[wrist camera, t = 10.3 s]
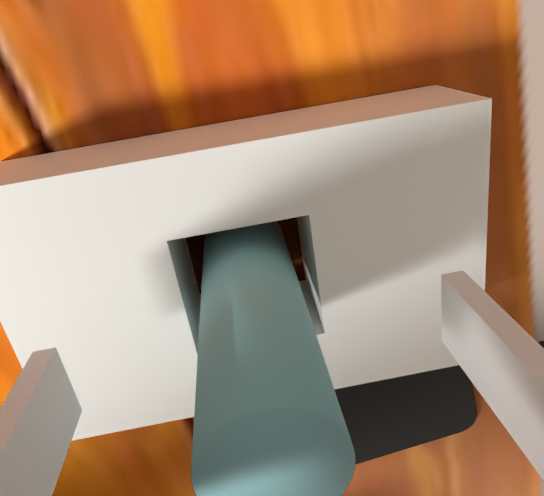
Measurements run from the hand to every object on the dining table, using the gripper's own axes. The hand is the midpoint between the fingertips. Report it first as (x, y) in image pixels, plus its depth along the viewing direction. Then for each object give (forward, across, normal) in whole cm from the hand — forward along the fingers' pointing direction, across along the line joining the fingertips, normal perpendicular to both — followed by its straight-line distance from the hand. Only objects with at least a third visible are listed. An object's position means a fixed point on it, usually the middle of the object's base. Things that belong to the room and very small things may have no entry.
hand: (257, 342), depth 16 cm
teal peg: (+9, 0, 0) cm, 9 cm away
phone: (+9, +4, -13) cm, 17 cm away
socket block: (+9, 0, 0) cm, 9 cm away
